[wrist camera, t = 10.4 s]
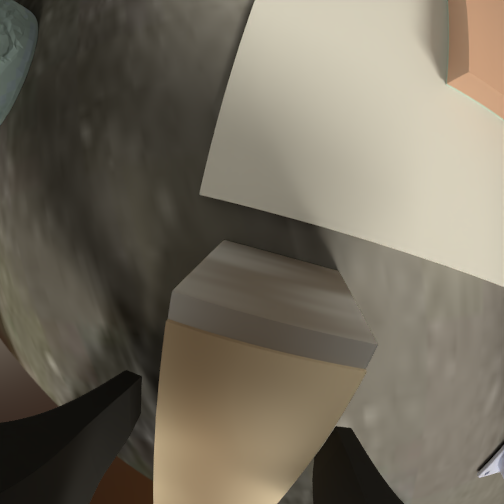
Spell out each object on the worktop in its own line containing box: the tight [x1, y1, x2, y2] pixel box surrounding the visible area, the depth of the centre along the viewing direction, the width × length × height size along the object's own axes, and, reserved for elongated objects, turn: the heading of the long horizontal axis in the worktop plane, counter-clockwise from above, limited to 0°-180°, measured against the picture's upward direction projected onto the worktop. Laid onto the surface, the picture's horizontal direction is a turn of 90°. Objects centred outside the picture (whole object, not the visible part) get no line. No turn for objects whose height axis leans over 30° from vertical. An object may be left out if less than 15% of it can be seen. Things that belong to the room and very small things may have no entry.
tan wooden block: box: [153, 240, 378, 504], centre depth 9 cm, size 4×11×5 cm, turn 166°
